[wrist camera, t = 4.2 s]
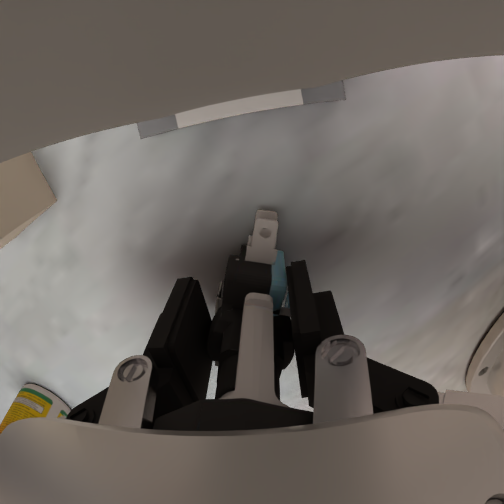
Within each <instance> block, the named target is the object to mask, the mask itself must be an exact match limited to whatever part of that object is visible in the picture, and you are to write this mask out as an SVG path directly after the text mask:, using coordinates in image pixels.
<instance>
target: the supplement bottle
mask: <svg viewBox="0 0 504 504" xmlns="http://www.w3.org/2000/svg"><path fill="white" fill-rule="evenodd" d="M70 411H71V410H70V409H69V407H68V406H67V405H66V404H65V403H64V402H63V401H62V400H61V399H60V398H58V397H57V396H56V395H54V394H53V393H51V392H50V391H48V390H46V389H44V388H42V387H40V386H38V385H35V384H26V385H24V386H23V387H22V389H21V390H20V392H19V393H18V395H17V397H16V398H15V400H14V402H13V403H12V405H11V407H10V409H9V410H8V412H7V414H6V416H5V418H4V419H3V421H2V423H1V425H0V434H1V433H2V431H3V430H4V429H5V428H6V427H7V426H8V425H9V424H11V423H13V422H15V421H18V420H22V419H27V418H37V417H47V418H58V417H61V416H65V417H67V415H68V414H69V412H70Z"/></svg>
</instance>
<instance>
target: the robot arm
mask: <svg viewBox="0 0 504 504" xmlns="http://www.w3.org/2000/svg"><path fill="white" fill-rule="evenodd" d="M286 276H287V285H288V294H289V304H290V314H291V324H292V333H293V341H294V347H295V354H296V361H297V368H298V375H299V382H300V389H301V396H302V398H305V397H308V400H309V406H310V407H312V408H314V412H313V424H308V425H300V426H291V427H281V428H270V429H255V430H235V431H174V430H154V429H153V426H154V423H155V420H156V419H157V418H158V417H160V416H163V415H165V414H168V413H170V412H173V411H175V410H178V409H180V408H183V407H185V406H187V405H190V404H192V403H194V402H197V401H199V400H204V399H206V394H207V389H208V383H209V378H210V372H211V367H212V360H210V358H209V355H208V352H207V341H208V336H209V331H210V327H211V323H212V320H211V317H210V314H209V311H208V308H207V305H206V302H205V299H204V296H203V293H202V290H201V287H200V284H199V281H198V280H194V279H193V277H187V278H180V279H177V281H176V283H175V286H174V288H173V290H172V292H171V294H170V297H169V299H168V301H167V303H166V306H165V308H164V310H163V313H161V314H160V316H159V318H158V321H157V323H156V325H155V327H154V330H153V332H152V334H151V337H150V339H149V341H148V344H147V346H146V349H145V351H144V353H143V355H135V356H131V357H128V358H126V359H124V360H123V361H122V362H120V363H119V364H118V365H117V367H116V368H115V370H114V373H113V376H112V379H111V382H110V385H109V387H108V388H106V389H104V390H103V391H101V392H99V393H98V394H96V395H94V396H93V397H91V398H89V399H88V400H86V401H84V402H83V403H81V404H79V405H78V406H76V407H75V408H73V409H72V410H71V411H70V412H69V414H68V415H67V417H65V416H61V417H58V418H47V417H37V418H27V419H22V420H18V421H15V422H13V423H11V424H9V425H8V426H7V427H6V428H5V429H4V430H3V431H2V433H1V434H0V504H504V313H503V314H502V315H501V316H500V318H499V319H498V320H497V321H496V323H495V324H494V325H493V327H492V328H491V329H490V331H489V332H488V334H487V335H486V337H485V338H484V340H483V341H482V343H481V344H480V346H479V348H478V350H477V351H476V353H475V355H474V357H473V359H472V362H471V364H470V366H469V369H468V373H467V376H466V388H467V390H468V392H462V391H454V390H446V391H445V393H442V392H437V390H436V389H435V388H434V387H433V386H432V385H431V384H429V383H427V382H425V381H423V380H420V379H418V378H415V377H413V376H410V375H408V374H405V373H403V372H400V371H398V370H395V369H393V368H391V367H388V366H386V365H383V364H381V363H379V362H376V361H374V360H372V359H369V358H367V357H366V350H365V347H364V344H363V343H362V342H361V341H360V340H359V339H357V338H355V337H353V336H349V335H344V332H343V329H342V325H341V322H340V318H339V315H338V312H337V308H336V305H335V302H334V299H333V295H332V292H331V291H324V292H318V293H312V288H311V284H310V280H309V275H308V271H307V266H306V262H305V260H301V261H295V262H291V266H287V267H286Z"/></svg>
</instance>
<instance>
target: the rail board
mask: <svg viewBox="0 0 504 504" xmlns="http://www.w3.org/2000/svg"><path fill="white" fill-rule="evenodd" d="M495 55H504V0H0V163H2V162H4V161H7V160H9V159H12V158H15V157H17V156H20V155H23V154H26V153H28V152H31V151H34V150H37V149H40V148H43V147H46V146H49V145H53V144H56V143H59V142H62V141H66V140H69V139H73V138H76V137H80V136H83V135H87V134H91V133H95V132H99V131H103V130H107V129H111V128H115V127H120V126H124V125H129V124H134V123H137V126H138V130H139V134H140V138H141V139H143V138H147V137H150V136H153V135H157V134H160V133H164V132H168V131H171V130H175V129H179V128H183V127H187V126H191V125H195V124H199V123H204V122H208V121H212V120H217V119H221V118H226V117H231V116H236V115H241V114H246V113H251V112H257V111H263V110H269V109H275V108H281V107H288V106H295V105H303V104H309V103H317V102H327V101H337V100H346V97H345V91H344V85H343V80H345V79H349V78H353V77H357V76H361V75H366V74H370V73H374V72H379V71H384V70H389V69H394V68H399V67H404V66H410V65H415V64H421V63H428V62H435V61H442V60H450V59H458V58H468V57H480V56H495Z"/></svg>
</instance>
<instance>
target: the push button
mask: <svg viewBox="0 0 504 504" xmlns="http://www.w3.org/2000/svg"><path fill="white" fill-rule="evenodd" d="M277 216H278V214H277V213H276V212H274V211H267V210H261V209H259V210H257V211H256V218H255V224H254V230H253V236H252V235H249V236H248V243H247V246H245V245H242V247H241V253H240V256H234V255H230V256H229V260H228V265H227V269H226V274H225V281H224V289H223V298H221V291H222V283H223V281H221V282H220V286H219V290H218V295H217V300H216V310H215V316H214V317H213V320H212V323H211V327H210V331H209V336H208V341H207V352H208V355H209V358H210V360H212V361H215V366H218V375H217V388H216V394H215V399H204V400H199V401H197V402H194V403H192V404H190V405H187V406H185V407H183V408H180V409H178V410H175V411H173V412H170V413H168V414H165V415H163V416H160V417H158V418H157V419H156V420H155V423H154V426H153V429H154V430H174V431H235V430H255V429H270V428H281V427H291V426H300V425H308V424H313V412H310V411H305V410H299V409H294V408H290V407H288V406H287V405H285V404H283V403H282V402H281V401H280V384H279V378H280V375H281V372H282V369H285V368H286V367H287V366H288V365H289V363H290V362H291V360H292V358H293V356H294V352H295V347H294V341H293V333H292V324H291V319H290V316H291V314H290V304H289V294H288V293H287V297H286V301H285V305H284V307H281V305H282V301H283V300H284V297H285V293H286V288H287V276H286V271H285V262H284V253H283V251H279V250H276V249H275V247H276V242H277V239H276V235H277V230H278V225H279V223H278V222H277ZM287 306H288V307H287Z"/></svg>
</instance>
